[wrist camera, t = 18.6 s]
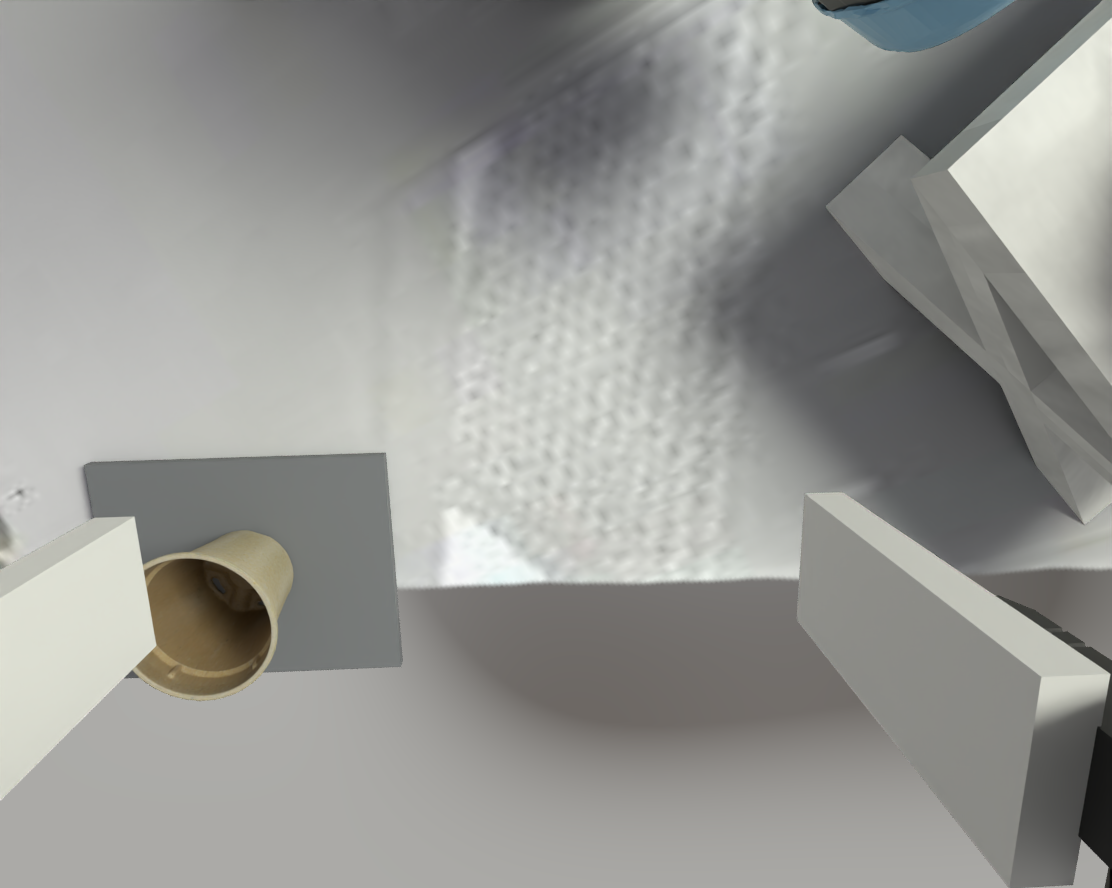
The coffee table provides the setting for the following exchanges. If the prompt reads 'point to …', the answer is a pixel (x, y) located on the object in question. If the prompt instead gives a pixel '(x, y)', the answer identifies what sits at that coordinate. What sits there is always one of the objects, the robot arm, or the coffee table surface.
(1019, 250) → the white x-leg stand
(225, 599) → the flower pot
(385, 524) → the charcoal mat
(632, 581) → the coffee table surface
